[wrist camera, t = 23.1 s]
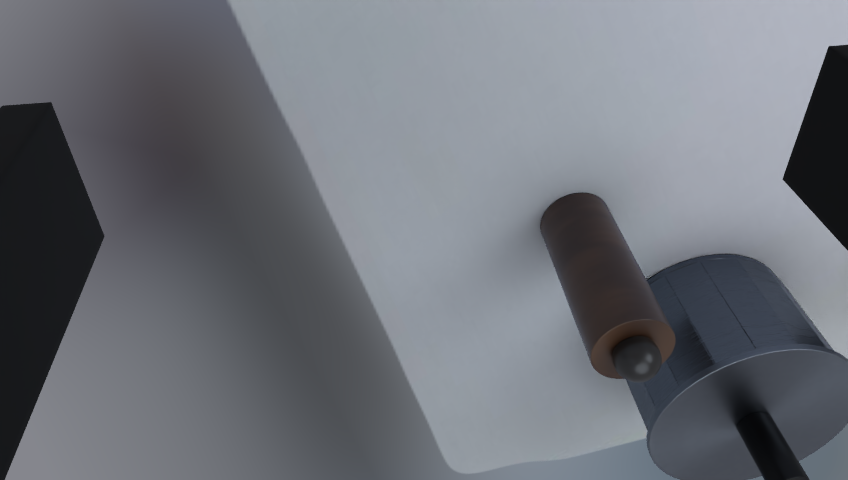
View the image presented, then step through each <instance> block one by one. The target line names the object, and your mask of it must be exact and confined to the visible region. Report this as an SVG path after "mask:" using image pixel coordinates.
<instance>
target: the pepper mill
mask: <svg viewBox="0 0 848 480" xmlns="http://www.w3.org/2000/svg"><path fill="white" fill-rule="evenodd" d="M540 229H541V233H542V236H543V239H544V241H545V244H546V247H547V249H548V252H549V254H550V257H551V260H552V262H553V265H554V267H555V270H556V273H557V275H558V278H559V280H560V283H561V286H562V288H563V291H564V294H565V296H566V299H567V301H568V304H569V307H570V309H571V312H572V314H573V317H574V320H575V322H576V325H577V327H578V330H579V333H580V335H581V338H582V341H583V343H584V346H585V348H586V351H587V354H588V356H589V359H590V361H591V364H592V366H593V368H594V369H595V370H596V371H597V372H598V373H600V374H602V375H604V376H606V377H610V378H616V379H626V380H628V381H631V382H636V383H641V382H646V381H648V380H650V379H652V378H653V377H654V376H655V375H656V374H657V373H658V371H659V370H660V367H661V364H662V363H664V362H665V361H666V360H667V359H668V357H669V356H670V355H671V353H672V351H673V349H674V347H675V339H676V338H675V334H674V331H673V330H672V328H671V326H670V324H669V322H668V320H667V318H666V316H665V314H664V313H663V311H662V309H661V307H660V305H659V303H658V301H657V299H656V297H655V295H654V294H653V292H652V290H651V288H650V286H649V284H648V282H647V280H646V278H645V277H644V275H643V273H642V271H641V269H640V267H639V265H638V263H637V261H636V260H635V258H634V256H633V254H632V252H631V250H630V248H629V246H628V244H627V243H626V241H625V239H624V237H623V235H622V233H621V231H620V229H619V227H618V226H617V224H616V222H615V220H614V218H613V216H612V214H611V212H610V210H609V209H608V207H607V205H606V203H605V202H604V201H603V200H602V199H601V198H599V197H597V196H596V195H593V194H589V193H574V194H570V195H567V196H564V197H562V198H560V199H559V200H557V201H555V202H554V203H553V204H552V205H551V206H550V207H549V208H548V209H547V210H546V212H545V213H544V215H543V217H542V220H541V225H540Z"/></svg>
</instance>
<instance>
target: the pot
mask: <svg viewBox="0 0 848 480" xmlns="http://www.w3.org/2000/svg"><path fill="white" fill-rule="evenodd" d="M647 282H648V284H649V286H650V288H651V290H652V292H653V294H654V295H655V297H656V299H657V301H658V303H659V305H660V307H661V309H662V311H663V313H664V314H665V316H666V318H667V320H668V322H669V324H670V326H671V328H672V330H673V331H674V334H675V338H676V339H675V347H674V349H673V351H672V353H671V355H670V356H669V357H668V359H667V360H666V361H665V362H664V363H662V364H661V367H660V370H659V371H658V373H657V374H656V375H655V376H654V377H653V378H652V379H650V380H648V381H646V382H641V383H636V382H631V381H628V380H626V381H627V383H628V386H629V388H630V390H631V393H632V395H633V398H634V400H635V402H636V405H637V407H638V409H639V412H640V414H641V416H642V419H643V421H644V423H645V426H646V428H647V431H648V427H649V425H650V422H651V419H652V418H653V416H654V414H655V412H656V411H657V409H658V408H659V407H660V405H661V404H662V403H663V401H664V400H665V399H666V398H667V397H668V396H669V395H670V394H671V393H672V392H673V391H674V390H676V389H677V388H678V387H679V386H680V385H682V384H683V383H684V382H686V381H687V380H688V379H690V378H691V377H693V376H694V375H696V374H697V373H699V372H701V371H703V370H704V369H706V368H708V367H710V366H712V365H714V364H716V363H718V362H720V361H722V360H725V359H727V358H730V357H732V356H735V355H738V354H741V353H744V352H747V351H751V350H755V349H759V348H764V347H769V346H776V345H785V344H808V345H815V346H821V347H824V348H828V349H831V350H833V349H832V348H831V346H830V345H829V344H828V342H827V341H826V340H825V338H824V337H823V336H822V334H821V333H820V332H819V330H818V329H817V328H816V326H815V325H814V324H813V322H812V321H811V320H810V318H809V317H808V316H807V314H806V313H805V312H804V310H803V309H802V308H801V306H800V305H799V304H798V302H797V301H796V300H795V298H794V297H793V296H792V294H791V293H790V292H789V291H788V289H787V288H786V287H785V285H784V284H783V283H782V281H781V280H780V279H779V278H778V277H777V276H776V275H775V274H774V273H773V272H772V271H771V269H769V268H768V267H767V266H766V265H764V264H763V263H761V262H759V261H757V260H755V259H752V258H749V257H745V256H740V255H731V254H717V255H708V256H702V257H698V258H693V259H690V260H687V261H684V262H681V263H678V264H676V265H673V266H671V267H669V268H667V269H665V270H663V271H661V272H659V273H658V274H656V275H654V276H653V277H651V278H650V279H648V280H647ZM833 351H834V350H833Z"/></svg>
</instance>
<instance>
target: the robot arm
mask: <svg viewBox="0 0 848 480" xmlns="http://www.w3.org/2000/svg"><path fill="white" fill-rule="evenodd" d="M783 180H784V181H785V182H786V183H787V184H788V186H789V187H790V188H791V189H792V190H793V191H794V192H795V193H796V194H797V195H798V196H799V198H800V199H801V200H802V201H803V202H804V203H805V204H806V205H807V206H808V207H809V209H810V210H811V211H812V212H813V213H814V214H815V215H816V216H817V217H818V218H819V220H820V221H821V222H822V223H823V224H824V225H825V226H826V227H827V228H828V229H829V230H830V232H831V233H832V234H833V235H834V236H835V237H836V238H837V239H838V240H839V241H840V243H841V244H842V245H843V246H844V247H845V248H846V249H847V250H848V45H840V46H829V47H828V50H827V53H826V56H825V59H824V62H823V65H822V67H821V70H820V73H819V76H818V79H817V82H816V85H815V88H814V90H813V93H812V96H811V99H810V102H809V105H808V108H807V111H806V113H805V116H804V119H803V122H802V125H801V128H800V131H799V134H798V136H797V139H796V142H795V145H794V148H793V151H792V154H791V157H790V159H789V162H788V165H787V168H786V171H785V174H784V177H783ZM103 238H104V234H103V231H102V229H101V226H100V224H99V221H98V219H97V216H96V214H95V211H94V209H93V206H92V204H91V201H90V199H89V196H88V194H87V191H86V189H85V186H84V184H83V181H82V179H81V176H80V174H79V171H78V169H77V166H76V164H75V161H74V159H73V156H72V154H71V151H70V148H69V146H68V143H67V141H66V139H65V136H64V133H63V131H62V129H61V126H60V124H59V121H58V118H57V116H56V113H55V111H54V109H53V106H52V103H51V102H49V103H35V104H21V105H7V106H2V107H1V108H0V480H5V477H6V475H7V472H8V470H9V467H10V465H11V463H12V460H13V458H14V455H15V453H16V450H17V448H18V446H19V443H20V441H21V438H22V436H23V433H24V431H25V429H26V426H27V424H28V421H29V419H30V416H31V414H32V411H33V409H34V406H35V404H36V402H37V399H38V397H39V394H40V392H41V390H42V387H43V384H44V382H45V380H46V377H47V375H48V372H49V370H50V368H51V365H52V363H53V360H54V358H55V355H56V353H57V350H58V348H59V345H60V343H61V341H62V338H63V336H64V333H65V331H66V328H67V326H68V324H69V321H70V319H71V316H72V314H73V311H74V309H75V307H76V304H77V302H78V299H79V297H80V294H81V292H82V290H83V287H84V285H85V282H86V280H87V277H88V275H89V272H90V270H91V268H92V265H93V263H94V260H95V258H96V255H97V253H98V251H99V248H100V246H101V243H102V241H103Z"/></svg>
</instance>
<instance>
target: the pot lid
mask: <svg viewBox="0 0 848 480" xmlns="http://www.w3.org/2000/svg"><path fill="white" fill-rule="evenodd" d="M847 423H848V359H847V358H845V357H844V356H843V355H841V354H839V353H837V352H835V351H833V350H831V349H828V348H824V347H821V346H815V345H808V344H785V345H776V346H769V347H764V348H759V349H755V350H751V351H747V352H744V353H741V354H738V355H735V356H732V357H730V358H727V359H725V360H722V361H720V362H718V363H716V364H714V365H712V366H710V367H708V368H706V369H704V370H703V371H701V372H699V373H697V374H696V375H694V376H693V377H691V378H690V379H688V380H687V381H686V382H684V383H683V384H682V385H680V386H679V387H678V388H677V389H676V390H674V391H673V392H672V393H671V394H670V395H669V396H668V397H667V398H666V399H665V400H664V401H663V403H662V404H661V405H660V407H659V408H658V409H657V411H656V412H655V414H654V416H653V418H652V419H651V422H650V425H649V427H648V432H647V447H648V450H649V453H650V456H651V458H652V460H653V461H654V463H655V464H656V465H657V466H658V467H659V468H660V469H661V470H662V471H663V472H665V473H666V474H668V475H670V476H672V477H674V478H677V479H680V480H747V479H752V478H756V477H759V476H763V478H764V480H809V478H808V476H807V475H806V473H805V471H804V470H803V468H802V466H801V465H800V463H799V460H802V459H804V458H805V457H807V456H808V455H810V454H812V453H814V452H815V451H817V450H818V449H819V448H821V447H822V446H824V445H825V444H826V443H828V442H829V441H830V440H831V439H833V438H834V437H835V436H836V435H837V434H838V433H839V432H840V431H841V430H842V429H843V428H844V427H845V425H846V424H847Z"/></svg>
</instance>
